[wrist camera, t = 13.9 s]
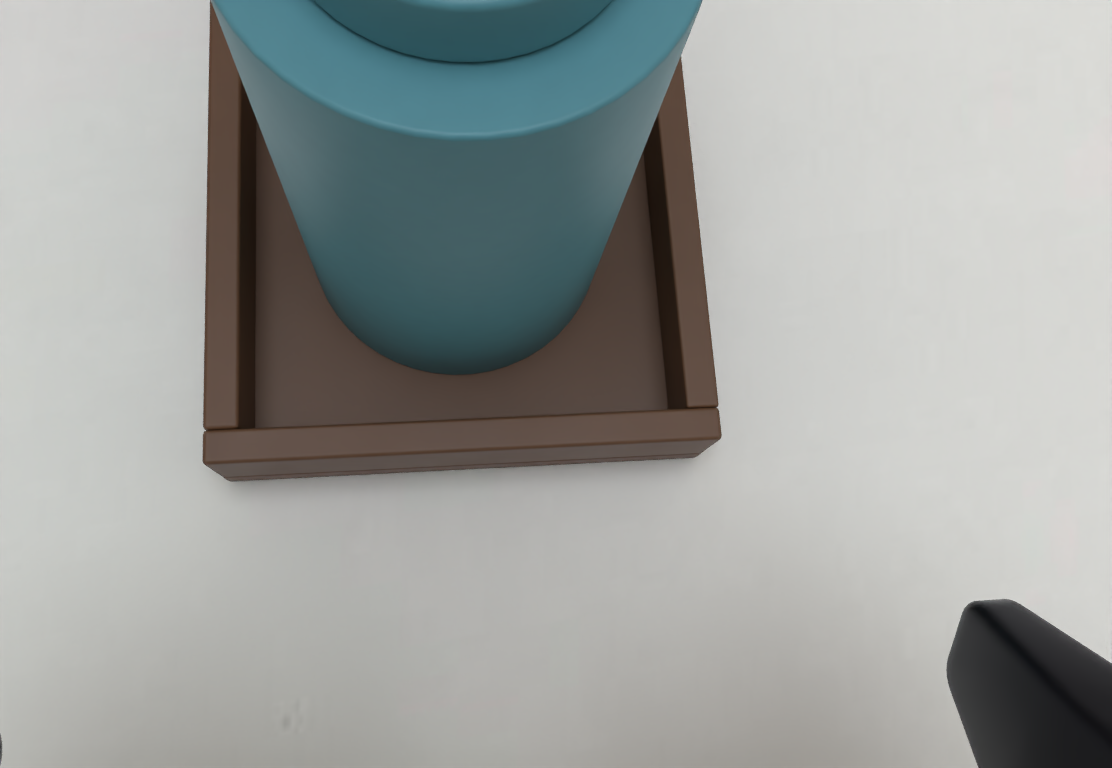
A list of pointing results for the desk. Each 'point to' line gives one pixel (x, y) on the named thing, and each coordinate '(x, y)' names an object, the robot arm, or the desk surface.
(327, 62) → the teal bottle
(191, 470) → the desk surface
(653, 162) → the tray
